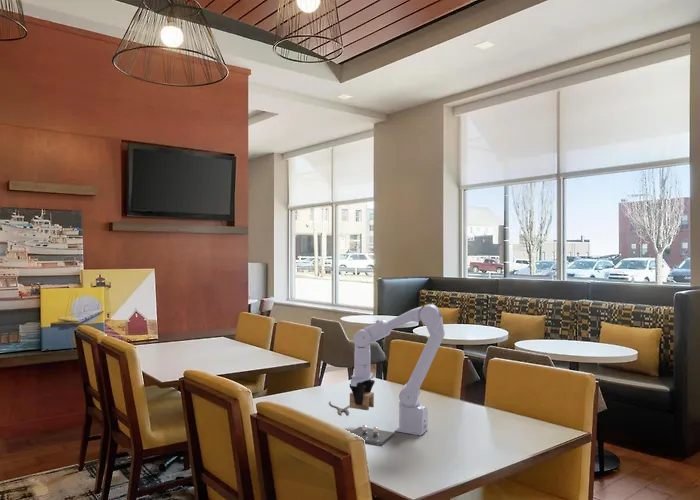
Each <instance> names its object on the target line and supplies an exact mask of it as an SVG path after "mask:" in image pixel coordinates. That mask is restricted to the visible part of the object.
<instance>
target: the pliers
mask: <svg viewBox="0 0 700 500" xmlns="http://www.w3.org/2000/svg"><path fill="white" fill-rule="evenodd" d="M328 404H329V406H330V407H332V408H334V409H336V410H337V414H338V415H339V416H342V414H343V413H345V414H346V415H347V416H349V414H350V411H349V410H348V409H349V408H350V404H349V405H347V406H346V407H344V408H341V407H339V406H337V405H334V404H332V402H331V400H330V401H329V402H328Z"/></svg>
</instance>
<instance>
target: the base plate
mask: <svg viewBox="0 0 700 500" xmlns="http://www.w3.org/2000/svg"><path fill="white" fill-rule="evenodd" d="M351 432H352V433H354V434H356V435H358V436H360V437H362V438H363V439H364V440H365V442H366V444H370V443H371V444H370V445H374V446H375V445H376V446H381V445H382V446H383V445H385V444H386V443H387V442H388V441H390V439H392V438H393V437H395V436H396V433H395V432H396V431H388V430H382V429H379V426H373V428H370V427H368V425H367V424H362V426H359V427H356V428H355V429H354V430H352V431H351Z"/></svg>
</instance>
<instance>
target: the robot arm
mask: <svg viewBox="0 0 700 500" xmlns="http://www.w3.org/2000/svg"><path fill="white" fill-rule="evenodd" d="M411 322H415V323H420V322H422V324H423V325H424V326H425V327H426V329H427V331H428V334H429V336H428V339H427V341H426V343H425V346H424V347H423V349H422V352H421V354H420V355H419V358H418V360H417V362H416V365H415V367H414V369H413V371H412V373H411V375H410V377H409V379H408V381H407V382H406V383H405V384H403V386H402V389H401V390H400V391H399V394H398V398H399V399H398V400H400V401H399V402H398V403H399V404H398V407H399V410H398V426H397V428H395V429H394V432H397V433H403V434H404V433H405V434H409V435H410V434H411V435H415V436H422V435H423V434H425V432H426V431H428V430H429V427H428V420H429V419H428V416H429V415H428V408H427V406H424V405H421V401H419V400H420V399H419V396H420V393H421V389H420V388H421V386H422V384H423V382H424V380H425V378H426V376H427V374H428V371H429V370H430V367H431V365H432V363H433V361H434V359H435V357H436V354H437V352H438V350H439V348H440V345H441V344H442V342H443V339H444V337H445V333H446V332H445V327H444V320H443V315H442V313H441V311H440V309H439V308H438V306H437V305H435V304H433V303H428V304H425V305H424V306H418V307H415V308H413V309H410V310H408V311H405V312H404V313H402V314H400V315H398V316H396V317H394V318H392V319H390V320H388V321H387V320H384V319H377V320H375V323H372V324H370V325H368V326H367V325H365V326H363V329H362V328H361V329H359V330H357V332H355V333H354V334H353V338H352V342H353V343H354V356H353V358H354V361H353V362H354V363H353V364H354V365H353V366H354V370H353V372H354V373H353V375H351V378H352V379H351V380H350V383H349V388H350V390H351V393H352V392H353V395H354V399H355V403H356V405H362V401H363V393H364V391H365V392H371V391H372V389H373V386H374V385H375V383H376V381H375V380H374V372H371V360H372V359H371V355H372V354H371V351H372V350H371V342H372V343H375V342H376V341H379V340H381V339H383V338H385V337H387V336H390V334H391V332H392V330H394V329H396V328H399V327H401V326H403V325H406V324H408V323H411Z"/></svg>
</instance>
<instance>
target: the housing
mask: <svg viewBox="0 0 700 500" xmlns="http://www.w3.org/2000/svg"><path fill="white" fill-rule="evenodd" d="M374 398H375V393H374V392H365V391H364V393H363V401H362V405H356V403H355V399H354V395H353V392H352V391H351V392H349V405H350V407H349V408H350V409H356V410H362V411H363V410H364V411H369V410H370V408H374V405H375V402H374V401H375V399H374Z"/></svg>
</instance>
